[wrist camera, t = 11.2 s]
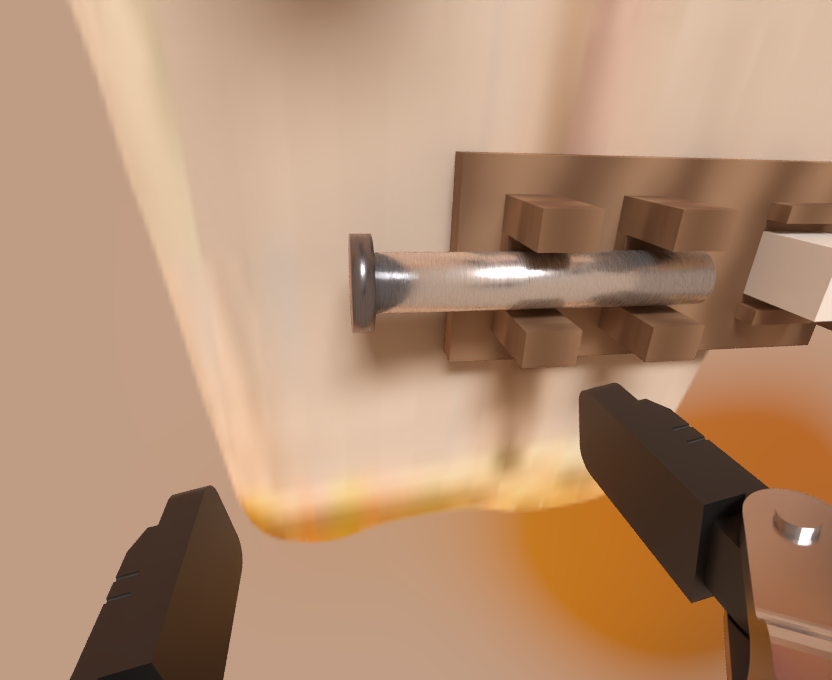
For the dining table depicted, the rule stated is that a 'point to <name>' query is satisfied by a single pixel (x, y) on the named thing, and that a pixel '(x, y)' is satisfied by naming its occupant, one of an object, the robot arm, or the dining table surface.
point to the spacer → (794, 273)
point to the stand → (631, 248)
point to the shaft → (519, 280)
